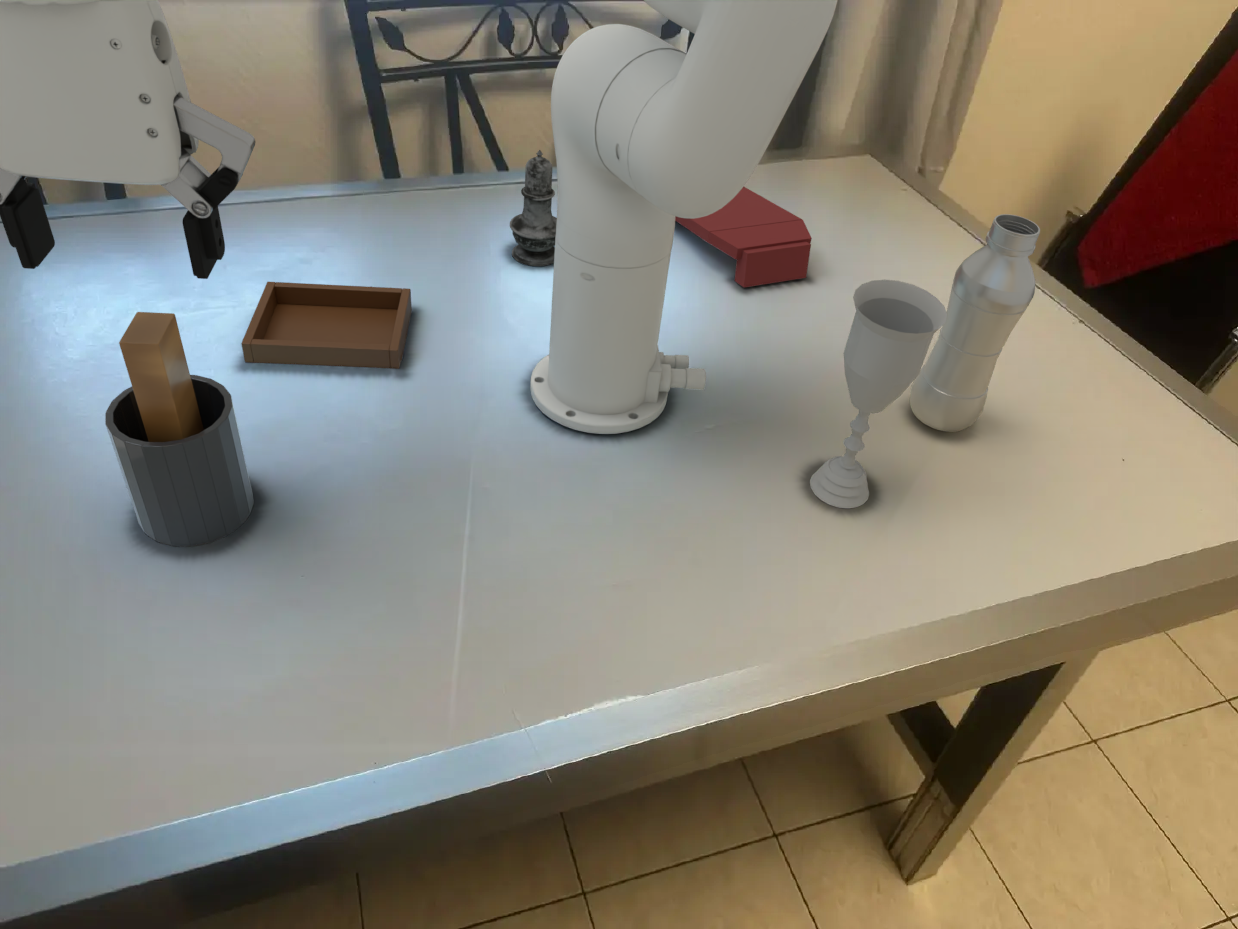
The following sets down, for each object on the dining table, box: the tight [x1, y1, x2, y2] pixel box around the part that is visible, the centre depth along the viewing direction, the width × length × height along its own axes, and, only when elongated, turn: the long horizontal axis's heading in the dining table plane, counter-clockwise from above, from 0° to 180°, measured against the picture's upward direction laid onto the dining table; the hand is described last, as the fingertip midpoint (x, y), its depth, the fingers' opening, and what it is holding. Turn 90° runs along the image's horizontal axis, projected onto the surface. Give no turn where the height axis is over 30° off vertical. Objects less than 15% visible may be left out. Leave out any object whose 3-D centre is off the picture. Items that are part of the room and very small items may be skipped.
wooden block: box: [118, 311, 204, 442], centre depth 66 cm, size 2×4×16 cm, turn 3°
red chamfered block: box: [675, 186, 813, 288], centre depth 114 cm, size 12×5×25 cm
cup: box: [104, 374, 255, 547], centre depth 69 cm, size 8×8×10 cm
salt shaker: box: [509, 149, 557, 267], centre depth 102 cm, size 6×6×12 cm
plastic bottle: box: [908, 213, 1041, 433], centre depth 83 cm, size 6×7×20 cm
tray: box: [240, 281, 413, 370], centre depth 90 cm, size 14×11×3 cm
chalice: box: [809, 279, 947, 509], centre depth 75 cm, size 7×7×18 cm
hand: (124, 262), depth 58 cm, fingers open, 9 cm apart
